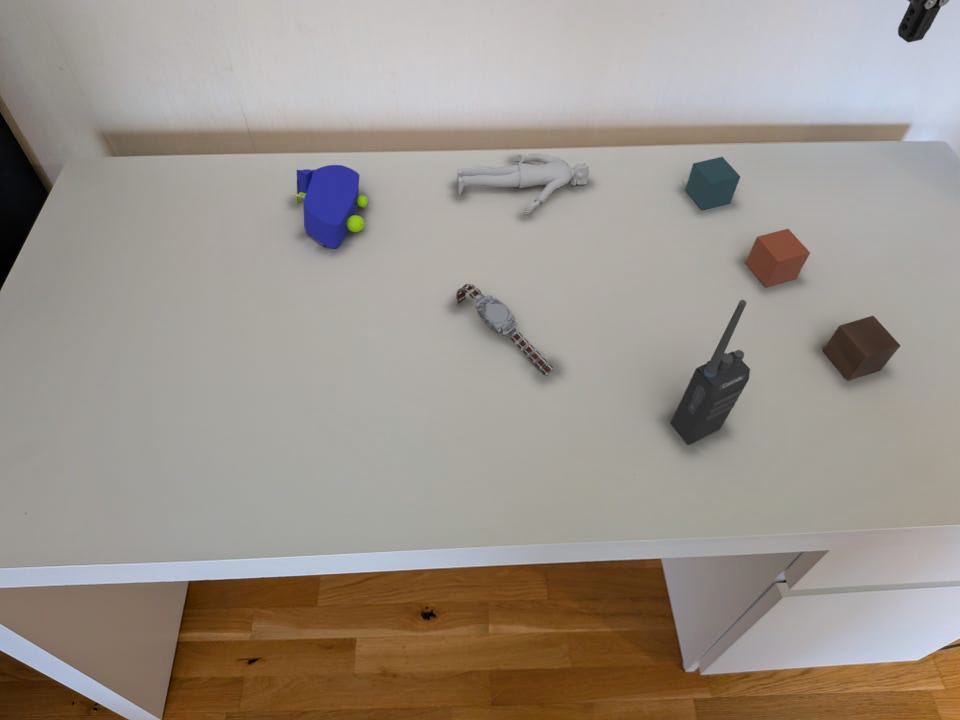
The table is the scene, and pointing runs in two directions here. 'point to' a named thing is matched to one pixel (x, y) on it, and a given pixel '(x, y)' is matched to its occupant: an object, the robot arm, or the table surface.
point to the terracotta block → (777, 257)
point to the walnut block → (860, 347)
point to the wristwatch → (501, 322)
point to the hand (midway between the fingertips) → (909, 37)
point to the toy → (330, 203)
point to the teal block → (712, 183)
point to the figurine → (526, 175)
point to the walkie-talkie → (713, 389)
